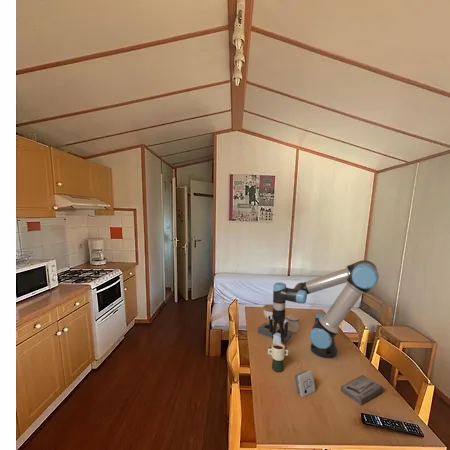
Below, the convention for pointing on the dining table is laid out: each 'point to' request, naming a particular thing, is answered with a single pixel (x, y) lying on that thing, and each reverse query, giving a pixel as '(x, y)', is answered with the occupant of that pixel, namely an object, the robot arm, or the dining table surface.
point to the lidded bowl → (268, 310)
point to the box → (362, 389)
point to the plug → (276, 337)
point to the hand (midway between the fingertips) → (277, 345)
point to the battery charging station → (265, 331)
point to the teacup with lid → (293, 323)
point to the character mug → (277, 356)
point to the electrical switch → (305, 383)
